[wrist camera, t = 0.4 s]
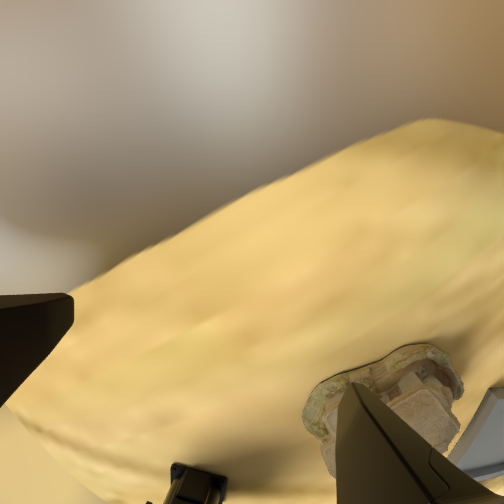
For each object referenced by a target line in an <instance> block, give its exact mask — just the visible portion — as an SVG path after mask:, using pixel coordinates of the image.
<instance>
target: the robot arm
mask: <svg viewBox="0 0 504 504" xmlns="http://www.w3.org/2000/svg"><path fill="white" fill-rule="evenodd" d="M73 322H74V299H73V297H72V296H70V295H68V294H65V293H47V294H24V295H0V408H1V406H2V405H3V404H4V403H5V402H6V401H7V400H8V399H9V397H10V396H11V395H12V394H13V393H14V392H15V391H16V390H17V389H18V387H19V386H20V385H21V384H22V383H23V382H24V381H25V380H26V379H27V378H28V377H29V375H30V374H31V373H32V372H33V371H34V370H35V369H36V368H37V367H38V366H39V365H40V364H41V363H42V362H43V361H44V360H45V359H46V357H47V356H48V355H49V354H50V353H51V352H52V350H53V349H54V348H55V347H56V345H57V344H58V343H59V341H60V340H61V339H62V338H63V336H64V335H65V334H66V333H67V331H68V330H69V329H70V328H71V326H72V325H73ZM335 461H336V486H337V504H504V496H500V495H498V494H495V493H493V492H492V491H490V490H489V489H487V488H486V487H484V486H483V485H482V484H480V483H479V482H477V481H476V480H475V479H473V478H472V477H470V476H469V475H468V474H466V473H465V472H463V471H462V470H461V469H459V468H458V467H457V466H455V465H454V464H453V463H452V462H450V461H449V460H448V459H447V458H446V457H444V456H443V455H442V454H441V453H440V452H439V451H437V450H436V449H435V448H434V447H432V445H431V444H429V443H428V442H427V441H426V440H425V439H424V438H423V437H422V436H420V435H419V434H418V433H417V432H416V431H415V430H414V429H413V428H411V427H410V426H409V425H408V424H407V423H406V422H405V421H404V420H403V419H401V418H400V417H399V416H398V415H397V414H396V413H395V412H394V411H393V410H392V409H390V408H389V407H388V406H387V405H386V404H385V403H384V402H383V401H382V400H381V399H379V398H378V397H377V396H376V395H375V394H374V393H373V392H372V391H371V390H370V389H369V388H367V387H366V386H365V385H364V384H362V383H356V382H351V383H349V385H348V386H347V388H346V390H345V392H344V394H343V396H342V398H341V400H340V402H339V405H338V411H337V428H336V442H335ZM227 481H228V479H227V478H226V477H223V476H218V475H214V474H210V473H206V472H202V471H198V470H194V469H191V468H187V467H184V466H180V465H177V464H172V465H171V487H170V489H169V492H168V494H167V496H166V498H165V501H164V503H163V504H222V502H223V498H224V494H225V489H226V485H227ZM146 504H152V503H151V502H149V501H147V502H146Z"/></svg>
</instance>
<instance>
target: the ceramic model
mask: <svg viewBox="0 0 504 504" xmlns="http://www.w3.org/2000/svg"><path fill="white" fill-rule="evenodd" d="M351 382H356V383H362V384H364V385H365V386H366V387H367V388H369V389H370V390H371V391H372V392H373V393H374V394H375V395H376V396H377V397H378V398H379V399H381V400H382V401H383V402H384V403H385V404H386V405H387V406H388V407H389V408H390V409H392V410H393V411H394V412H395V413H396V414H397V415H398V416H399V417H400V418H401V419H403V420H404V421H405V422H406V423H407V424H408V425H409V426H410V427H411V428H413V429H414V430H415V431H416V432H417V433H418V434H419V435H420V436H422V437H423V438H424V439H425V440H426V441H427V442H428V443H429V444H431V445H432V447H434V448H435V449H436V450H437V451H439V452H440V453H441V454H442V453H444V452H445V451H447V450H448V445H449V444H450V443H451V441H452V439H453V438H454V437H455V435H456V434H457V433H458V432H459V429H460V423H459V421H458V420H457V418H456V417H455V415H454V414H453V413H452V412H451V407H452V403H453V402H454V401H455V400H458V399H460V398H461V397H462V395H463V393H464V388H463V382H462V381H461V378H460V376H459V375H458V374H457V372H456V371H455V369H454V368H453V366H452V361H451V359H450V357H449V356H448V354H447V353H445V352H443V351H440V350H439V349H438V348H436V347H435V346H433V345H430V344H418V345H408V346H405V347H402V348H399V349H398V350H396V351H394V352H393V353H391V354H390V355H388V356H387V357H386V358H384V359H383V360H381V361H379V362H377V363H374V364H370V365H368V366H366V367H362V368H360V369H357V370H353V371H350V372H347V373H343V374H339V375H336V376H334V377H332V378H330V379H329V380H327V381H325V382H323V383H321V384H319V385H318V386H317V387H316V388H315V389H314V390H313V392H312V393H311V394H310V399H308V402H307V405H306V407H305V408H304V411H303V416H302V418H303V420H304V421H303V422H304V425H305V427H306V429H307V430H308V431H309V432H310V433H311V434H313V435H314V436H315V437H316V438H317V439H319V440H321V441H323V442H322V443H321V446H320V449H321V452H322V455H323V458H324V461H325V463H326V466H327V468H328V471H329V473H330V474H331V475H332V476H333V477H334V478H336V461H335V442H336V428H337V411H338V405H339V402H340V400H341V398H342V396H343V394H344V392H345V390H346V388H347V386H348V385H349V383H351Z"/></svg>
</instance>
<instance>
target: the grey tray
mask: <svg viewBox="0 0 504 504" xmlns="http://www.w3.org/2000/svg"><path fill="white" fill-rule="evenodd" d="M447 459H448V460H449V461H450V462H452V463H453V464H454V465H455V466H457V467H458V468H459V469H461V470H462V471H463V472H465V473H466V474H468V475H469V476H470V477H472V478H473V479H475V480H476V481H477V482H479V481H483V480H487V479H491V478H494V477H498V476H501V475H504V388H491V389H488V391H487V393H486V395H485V397H484V398H483V400H482V402H481V404H480V406H479V408H478V410H477V411H476V413H475V415H474V417H473V418H472V420H471V422H470V423H469V425H468V427H467V428H466V430H465V431H464V433H463V435H462V436H461V438H460V439H459V441H458V442H457V444H456V445H455V447H454V448H453V450H452V451H451V453H450V454H449V456H448V457H447Z"/></svg>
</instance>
